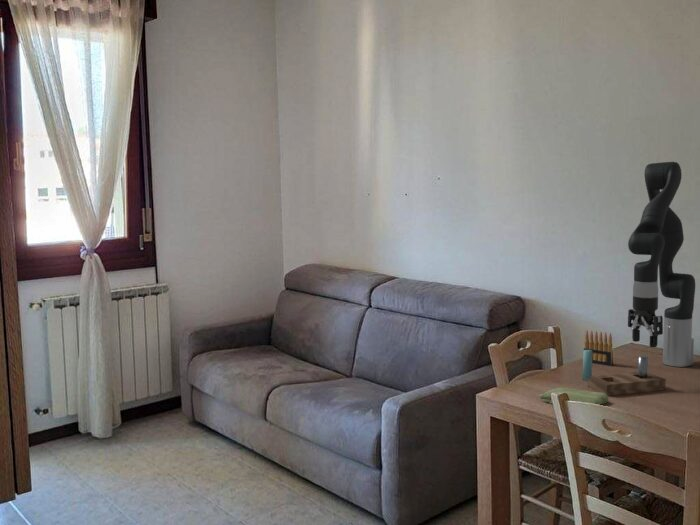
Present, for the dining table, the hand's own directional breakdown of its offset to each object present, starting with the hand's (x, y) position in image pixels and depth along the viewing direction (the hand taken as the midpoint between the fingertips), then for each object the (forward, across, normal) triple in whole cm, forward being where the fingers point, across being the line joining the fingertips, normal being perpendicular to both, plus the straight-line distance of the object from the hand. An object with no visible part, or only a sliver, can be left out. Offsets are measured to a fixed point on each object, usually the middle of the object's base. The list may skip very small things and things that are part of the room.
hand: (644, 344), depth 234 cm
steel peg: (+14, 0, 0) cm, 14 cm away
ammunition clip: (+15, +31, -4) cm, 34 cm away
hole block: (+14, 0, +6) cm, 16 cm away
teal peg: (+14, +13, +12) cm, 23 cm away
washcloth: (+14, -7, +30) cm, 34 cm away
